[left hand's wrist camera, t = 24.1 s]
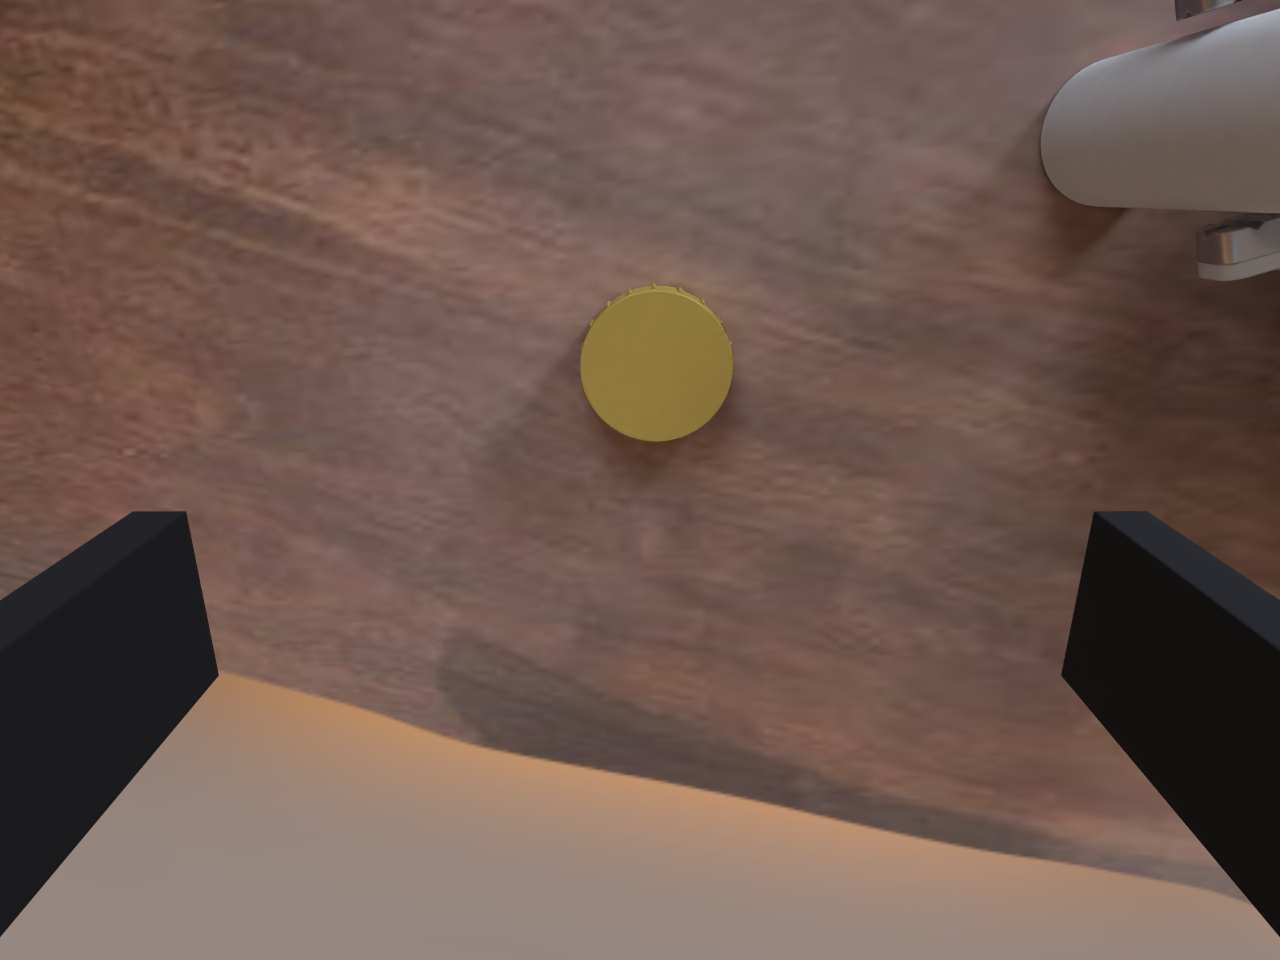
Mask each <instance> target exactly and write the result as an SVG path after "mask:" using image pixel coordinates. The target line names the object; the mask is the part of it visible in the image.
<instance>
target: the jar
mask: <svg viewBox="0 0 1280 960" xmlns="http://www.w3.org/2000/svg"><path fill="white" fill-rule="evenodd" d="M1040 147H1041V157H1042V161H1043V166H1044V168H1045V171H1046V174H1047V175H1048V177H1049V179H1050V181H1051V182H1052V184H1053V185H1054V186H1055V187H1056V189H1058V190H1059V191H1060V192H1061V193H1062V194H1063V195H1064V196H1066V197H1067V198H1069V199H1071V200H1073V201H1075V202H1077V203H1080V204H1083V205H1088V206H1097V207H1123V208H1150V209H1176V210H1203V211H1229V212H1255V213H1280V9H1277V10H1274V11H1270V12H1267V13H1263V14H1260V15H1256V16H1253V17H1249V18H1246V19H1242V20H1239V21H1235V22H1232V23H1228V24H1225V25H1221V26H1218V27H1215V28H1211V29H1208V30H1204V31H1201V32H1197V33H1194V34H1190V35H1187V36H1183V37H1180V38H1176V39H1173V40H1169V41H1166V42H1162V43H1159V44H1156V45H1152V46H1149V47H1145V48H1142V49H1138V50H1135V51H1131V52H1128V53H1124V54H1121V55H1117V56H1114V57H1110V58H1107V59H1103V60H1100V61H1098V62H1096V63H1093V64H1091V65H1089V66H1088V67H1086V68H1084V69H1082V70H1081V71H1080V72H1078V73H1077V74H1076V75H1074V76H1073V77H1072V78H1071V79H1070V80H1069V81H1068V82H1067V83H1066V84H1065V85H1064V86H1063V87H1062V88H1061V90H1060V91H1059V92H1058V94H1057V95H1056V97H1055V98H1054V100H1053V102H1052V103H1051V105H1050V107H1049V109H1048V112H1047V114H1046V117H1045V120H1044V123H1043V127H1042V133H1041V146H1040Z"/></svg>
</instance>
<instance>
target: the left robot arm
mask: <svg viewBox="0 0 1280 960" xmlns="http://www.w3.org/2000/svg"><path fill="white" fill-rule="evenodd" d="M218 676H219V674H218V669H217V664H216V659H215V654H214V649H213V644H212V639H211V634H210V629H209V624H208V619H207V614H206V609H205V604H204V599H203V594H202V589H201V584H200V579H199V574H198V569H197V564H196V559H195V554H194V549H193V544H192V539H191V534H190V529H189V524H188V519H187V514H186V512H132V513H130V514H129V515H127V516H126V517H124V518H123V519H121V520H120V521H118V522H117V523H115V524H114V525H112V526H111V527H109V528H108V529H106V530H105V531H103V532H102V533H100V534H99V535H97V536H96V537H94V538H93V539H91V540H90V541H88V542H87V543H85V544H84V545H82V546H81V547H79V548H78V549H76V550H75V551H73V552H72V553H70V554H69V555H67V556H66V557H64V558H63V559H61V560H60V561H58V562H57V563H55V564H54V565H53V566H51V567H50V568H48V569H47V570H45V571H44V572H42V573H41V574H39V575H38V576H36V577H35V578H33V579H32V580H30V581H29V582H27V583H26V584H24V585H23V586H21V587H20V588H18V589H17V590H15V591H14V592H12V593H11V594H9V595H8V596H6V597H5V598H3V599H2V600H0V937H1V935H2V934H3V933H4V932H5V931H6V929H7V928H8V927H9V926H10V925H11V923H12V922H13V921H14V920H15V919H16V917H17V916H18V915H19V914H20V913H21V911H22V910H23V909H24V908H25V907H26V905H27V904H28V903H29V902H30V901H31V899H32V898H33V897H34V896H35V895H36V893H37V892H38V891H39V890H40V889H41V887H42V886H43V885H44V884H45V883H46V882H47V880H48V879H49V878H50V877H51V876H52V874H53V873H54V872H55V871H56V870H57V868H58V867H59V866H60V865H61V864H62V862H63V861H64V860H65V859H66V858H67V856H68V855H69V854H70V853H71V852H72V850H73V849H74V848H75V847H76V846H77V844H78V843H79V842H80V841H81V840H82V838H83V837H84V836H85V835H86V834H87V832H88V831H89V830H90V829H91V828H92V826H93V825H94V824H95V823H96V822H97V820H98V819H99V818H100V817H101V816H102V814H103V813H104V812H105V811H106V810H107V809H108V807H109V806H110V805H111V804H112V803H113V801H114V800H115V799H116V798H117V797H118V795H119V794H120V793H121V792H122V791H123V789H124V788H125V787H126V786H127V785H128V783H129V782H130V781H131V780H132V779H133V777H134V776H135V775H136V774H137V773H138V771H139V770H140V769H141V768H142V767H143V765H144V764H145V763H146V762H147V761H148V759H149V758H150V757H151V756H152V755H153V753H154V752H155V751H156V750H157V749H158V748H159V746H160V745H161V744H162V743H163V742H164V740H165V739H166V738H167V737H168V736H169V734H170V733H171V732H172V731H173V729H174V728H175V727H176V726H177V725H178V724H179V722H180V721H181V720H182V719H183V718H184V716H185V715H186V714H187V713H188V712H189V710H190V709H191V708H192V707H193V706H194V704H195V703H196V702H197V701H198V700H199V698H200V697H201V696H202V695H203V694H204V692H205V691H206V690H207V689H208V688H209V686H210V685H211V684H212V683H213V682H214V681H215V679H216V678H217V677H218ZM1061 676H1062V677H1063V678H1064V679H1065V681H1066V682H1067V683H1068V684H1069V685H1070V687H1071V688H1072V689H1073V690H1074V691H1075V692H1076V694H1077V695H1078V696H1079V697H1080V698H1081V700H1082V701H1083V702H1084V703H1085V704H1086V706H1087V707H1088V708H1089V709H1090V710H1091V712H1092V713H1093V714H1094V715H1095V716H1096V718H1097V719H1098V720H1099V721H1100V722H1101V724H1102V725H1103V726H1104V727H1105V728H1106V730H1107V731H1108V732H1109V733H1110V734H1111V736H1112V737H1113V738H1114V739H1115V740H1116V742H1117V743H1118V744H1119V745H1120V746H1121V748H1122V749H1123V750H1124V751H1125V752H1126V753H1127V755H1128V756H1129V757H1130V758H1131V759H1132V761H1133V762H1134V763H1135V764H1136V765H1137V767H1138V768H1139V769H1140V770H1141V771H1142V773H1143V774H1144V775H1145V776H1146V777H1147V779H1148V780H1149V781H1150V782H1151V783H1152V785H1153V786H1154V787H1155V788H1156V789H1157V791H1158V792H1159V793H1160V794H1161V795H1162V797H1163V798H1164V799H1165V800H1166V801H1167V803H1168V804H1169V805H1170V806H1171V807H1172V809H1173V810H1174V811H1175V812H1176V813H1177V815H1178V816H1179V817H1180V818H1181V819H1182V820H1183V822H1184V823H1185V824H1186V825H1187V826H1188V828H1189V829H1190V830H1191V831H1192V832H1193V834H1194V835H1195V836H1196V837H1197V838H1198V840H1199V841H1200V842H1201V843H1202V844H1203V846H1204V847H1205V848H1206V849H1207V850H1208V852H1209V853H1210V854H1211V855H1212V856H1213V858H1214V859H1215V860H1216V861H1217V862H1218V864H1219V865H1220V866H1221V867H1222V868H1223V870H1224V871H1225V872H1226V873H1227V874H1228V876H1229V877H1230V878H1231V879H1232V880H1233V882H1234V883H1235V884H1236V885H1237V886H1238V887H1239V889H1240V890H1241V891H1242V892H1243V893H1244V895H1245V896H1246V897H1247V898H1248V899H1249V901H1250V902H1251V903H1252V904H1253V905H1254V907H1255V908H1256V909H1257V910H1258V911H1259V913H1260V914H1261V915H1262V916H1263V917H1264V919H1265V920H1266V921H1267V922H1268V923H1269V925H1270V926H1271V927H1272V928H1273V929H1274V931H1275V932H1276V933H1277V934H1278V935H1279V937H1280V600H1278V599H1277V598H1275V597H1274V596H1272V595H1271V594H1269V593H1268V592H1266V591H1265V590H1263V589H1262V588H1260V587H1259V586H1257V585H1256V584H1254V583H1253V582H1251V581H1250V580H1248V579H1247V578H1245V577H1244V576H1242V575H1241V574H1239V573H1238V572H1236V571H1235V570H1233V569H1232V568H1230V567H1229V566H1227V565H1226V564H1225V563H1223V562H1222V561H1220V560H1219V559H1217V558H1216V557H1214V556H1213V555H1211V554H1210V553H1208V552H1207V551H1205V550H1204V549H1202V548H1201V547H1199V546H1198V545H1196V544H1195V543H1193V542H1192V541H1190V540H1189V539H1187V538H1186V537H1184V536H1183V535H1181V534H1180V533H1178V532H1177V531H1175V530H1174V529H1172V528H1171V527H1169V526H1168V525H1166V524H1165V523H1163V522H1162V521H1160V520H1159V519H1157V518H1156V517H1154V516H1153V515H1151V514H1150V513H1148V512H1094V514H1093V519H1092V524H1091V529H1090V534H1089V539H1088V544H1087V549H1086V554H1085V559H1084V564H1083V569H1082V574H1081V579H1080V584H1079V589H1078V594H1077V599H1076V604H1075V609H1074V614H1073V619H1072V624H1071V629H1070V634H1069V639H1068V644H1067V649H1066V654H1065V659H1064V664H1063V669H1062V674H1061Z"/></svg>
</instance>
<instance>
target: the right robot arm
mask: <svg viewBox="0 0 1280 960" xmlns="http://www.w3.org/2000/svg"><path fill="white" fill-rule="evenodd" d="M1239 1H1242V0H1175V10H1176V21H1179V20H1182V19H1185V18H1189V17H1192V16H1195V15H1198V14H1201V13H1204V12H1207V11H1211V10H1214V9H1217V8H1220V7H1223V6H1226V5H1229V4H1232V3H1235V2H1239ZM1195 234H1196V249H1197V261H1198V273H1199V277H1200V278H1204V279H1210V280H1216V281H1231V280H1238V279H1244V278H1247V277H1251V276H1254V275H1258V274H1261V273H1265V272H1268V271H1272V270H1279V271H1280V215H1277V214H1272V215H1269V216H1264V215H1263V214H1248V213H1247V214H1244V215H1241V216H1237V217H1234V218H1230V219H1227V220H1225V221H1224V222H1223V223H1222V224H1221V225H1214V224H1210V225H1207V226H1203V227H1200V228H1198V229H1196V230H1195Z"/></svg>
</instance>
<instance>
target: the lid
mask: <svg viewBox="0 0 1280 960" xmlns="http://www.w3.org/2000/svg"><path fill="white" fill-rule="evenodd" d="M721 324H722V321H721V319H720V318H719V316H718V317H716V316H715V314H714V313H713V312H712V311H711V310H710V308H709V307H708V306H707V305H706V304H705V303H704V300H703V299H702V298H701V299H698V298H696V297H695V296H693V295H692V294H690V293H687V292H685V291H683V290H682V289H681V287H678V289H677V288H674V287H668V286H656V283H653V286H644V287H640V288H636V289H633V290H632V289H631V288H629V289H628V292H625V293H623V294H622V295H620V296H618V297H616V298H615V299H614V300H612V301H611V302H610V301H607V303H606V306H605V307H604V308H603V309H602V310H601V312H600V313H599V314H598V315H597V317H596V318H595V320H593V319H592V320H591V322H590V324H589V327H590V329H589V331H588V334H587V336H586V338H585V341H584V342H583V343H582V345H581V347H580V350H581V358H580V372H579V375H581V382H582V385H583V389H584V392H585V394H586V398H587V399H588V401H589V403H590V405H591V406H592V408H593V409H594V411H595V412H596V413H597V415H598V416H599V417H600V418H601V419H602V420H603V421H604V422H605V423H606V424H608V425H609V426H610V427H612V428H613V429H615V430H616V431H618V432H620V433H621V434H624V435H626V436H628V437H631V438H634V439H638V440H643V441H651V442H661V441H670V440H674V439H678V438H681V437H684V436H687V435H689V434H691V433H693V432H695V431H696V430H698V429H699V428H701V427H702V426H704V425H705V424H706V423H707V422H708V421H709V420H710V419H711V418H712V417H713V416H714V415H715V414H716V413H717V411H718V410H719V409H720V407H721V406H722V404H723V402H724V400H725V398H726V396H727V394H728V391H729V388H730V385H731V380H732V373H733V372H734V369H733V358H732V352H731V347H732V344H731V342H730V340H729V339H728V338H727V336H726V334H725V332H724V330H723V328H722V326H721Z"/></svg>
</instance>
